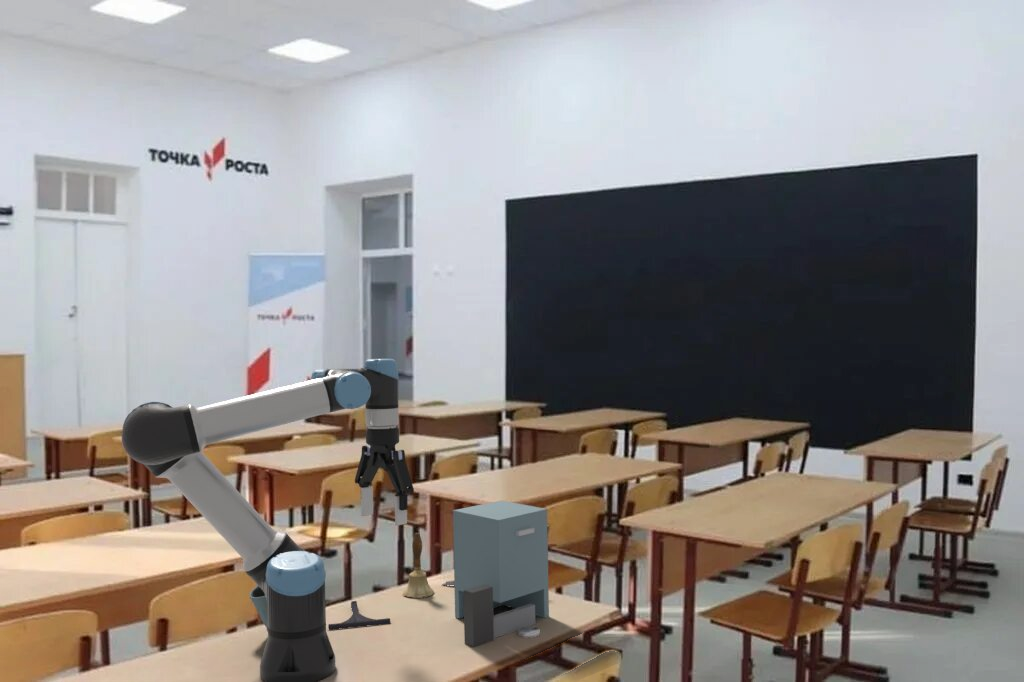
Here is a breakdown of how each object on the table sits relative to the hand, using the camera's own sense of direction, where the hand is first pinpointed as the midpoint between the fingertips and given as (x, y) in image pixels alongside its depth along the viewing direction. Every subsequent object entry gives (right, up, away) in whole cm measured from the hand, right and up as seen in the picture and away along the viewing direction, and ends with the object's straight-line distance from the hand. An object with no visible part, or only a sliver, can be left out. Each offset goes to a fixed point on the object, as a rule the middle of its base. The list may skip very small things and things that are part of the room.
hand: (383, 519), depth 205 cm
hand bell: (+5, -26, +32) cm, 42 cm away
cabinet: (+27, -26, +12) cm, 39 cm away
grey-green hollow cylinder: (-22, -27, +3) cm, 34 cm away
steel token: (+33, -26, 0) cm, 42 cm away
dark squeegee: (-8, -27, +14) cm, 32 cm away
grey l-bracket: (+27, -26, 0) cm, 37 cm away
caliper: (+20, -26, +36) cm, 48 cm away
